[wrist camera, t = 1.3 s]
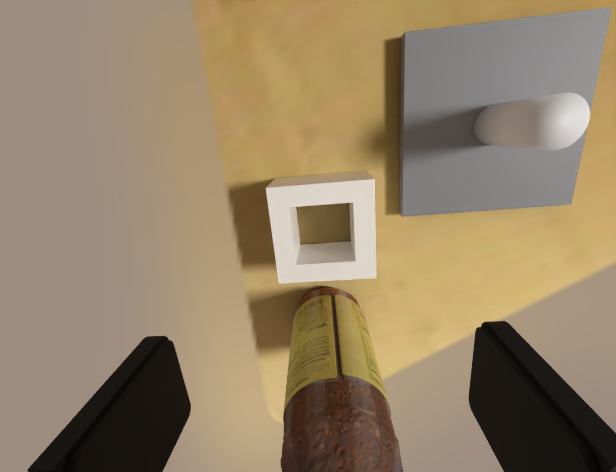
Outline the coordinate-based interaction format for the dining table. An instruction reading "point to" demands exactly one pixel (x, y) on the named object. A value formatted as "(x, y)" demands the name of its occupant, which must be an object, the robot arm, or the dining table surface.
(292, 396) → the sauce bottle
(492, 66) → the post base
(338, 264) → the white block
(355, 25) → the dining table surface
